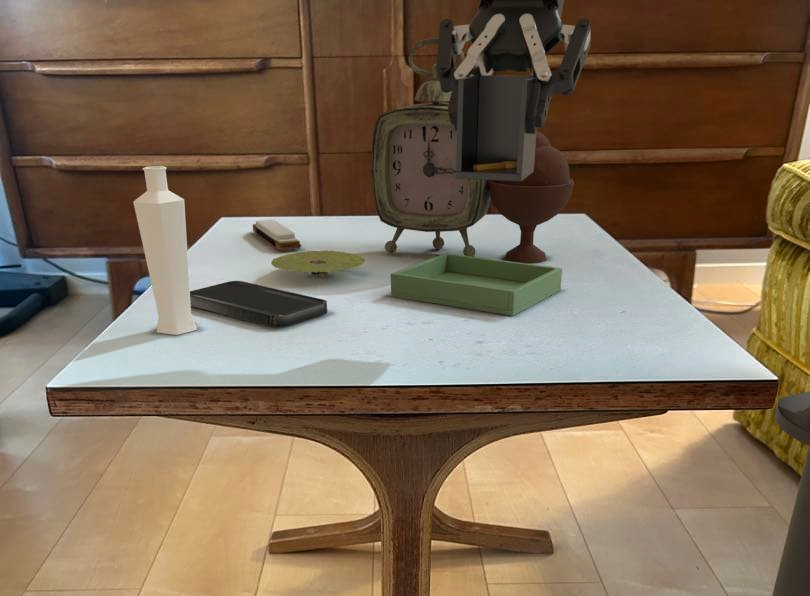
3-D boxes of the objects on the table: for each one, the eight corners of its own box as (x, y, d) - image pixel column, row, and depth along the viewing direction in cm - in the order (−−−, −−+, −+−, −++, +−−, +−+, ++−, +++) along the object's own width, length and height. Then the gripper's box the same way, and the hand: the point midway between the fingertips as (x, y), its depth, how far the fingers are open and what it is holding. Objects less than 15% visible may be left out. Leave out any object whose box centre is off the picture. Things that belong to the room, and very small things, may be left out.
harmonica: (301, 250, 119) (300, 235, 118) (279, 252, 118) (278, 236, 117) (273, 231, 131) (272, 217, 130) (253, 232, 130) (251, 218, 129)
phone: (277, 317, 87) (181, 293, 95) (278, 329, 87) (182, 303, 95) (332, 301, 92) (236, 279, 100) (332, 311, 92) (237, 289, 101)
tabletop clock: (373, 256, 116) (368, 38, 103) (393, 242, 123) (391, 37, 111) (480, 262, 112) (488, 37, 100) (494, 248, 120) (503, 37, 107)
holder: (533, 172, 83) (540, 76, 79) (521, 181, 78) (527, 79, 74) (471, 169, 84) (475, 75, 80) (455, 178, 79) (458, 78, 75)
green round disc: (373, 267, 110) (372, 251, 109) (355, 289, 101) (355, 272, 100) (286, 264, 112) (285, 249, 111) (260, 286, 102) (259, 269, 101)
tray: (560, 290, 100) (562, 268, 99) (512, 316, 91) (514, 291, 90) (445, 273, 107) (445, 252, 106) (390, 296, 98) (390, 273, 97)
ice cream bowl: (467, 259, 114) (471, 132, 106) (516, 245, 121) (523, 126, 114) (535, 272, 108) (545, 138, 100) (583, 256, 115) (595, 130, 108)
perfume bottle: (146, 327, 88) (121, 166, 81) (189, 320, 90) (168, 163, 83) (160, 338, 85) (135, 172, 78) (204, 331, 87) (183, 168, 79)
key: (513, 165, 82) (513, 160, 82) (524, 167, 81) (524, 163, 81) (470, 168, 80) (470, 163, 80) (480, 171, 79) (480, 166, 79)
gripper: (446, -63, 79) (407, 93, 76) (607, -68, 76) (574, 96, 72) (459, 6, 86) (424, 152, 83) (607, 5, 83) (577, 158, 79)
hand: (494, 125), depth 77 cm, fingers closed on holder, 6 cm apart
